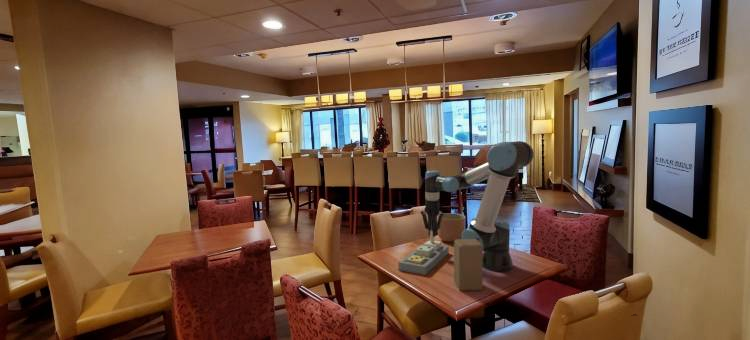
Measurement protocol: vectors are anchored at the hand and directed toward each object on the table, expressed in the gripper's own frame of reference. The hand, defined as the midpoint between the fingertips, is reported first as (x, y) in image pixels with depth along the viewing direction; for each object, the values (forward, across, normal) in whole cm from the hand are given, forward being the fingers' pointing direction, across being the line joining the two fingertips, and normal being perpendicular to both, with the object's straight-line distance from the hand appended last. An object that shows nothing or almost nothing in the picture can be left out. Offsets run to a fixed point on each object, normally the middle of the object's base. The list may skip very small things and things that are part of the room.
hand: (432, 241), depth 197 cm
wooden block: (+7, -28, +31) cm, 43 cm away
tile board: (+7, 0, +11) cm, 13 cm away
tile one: (+4, 0, 0) cm, 4 cm away
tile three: (+6, 0, +22) cm, 23 cm away
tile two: (+4, 0, +11) cm, 12 cm away
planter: (+8, -1, -29) cm, 30 cm away
